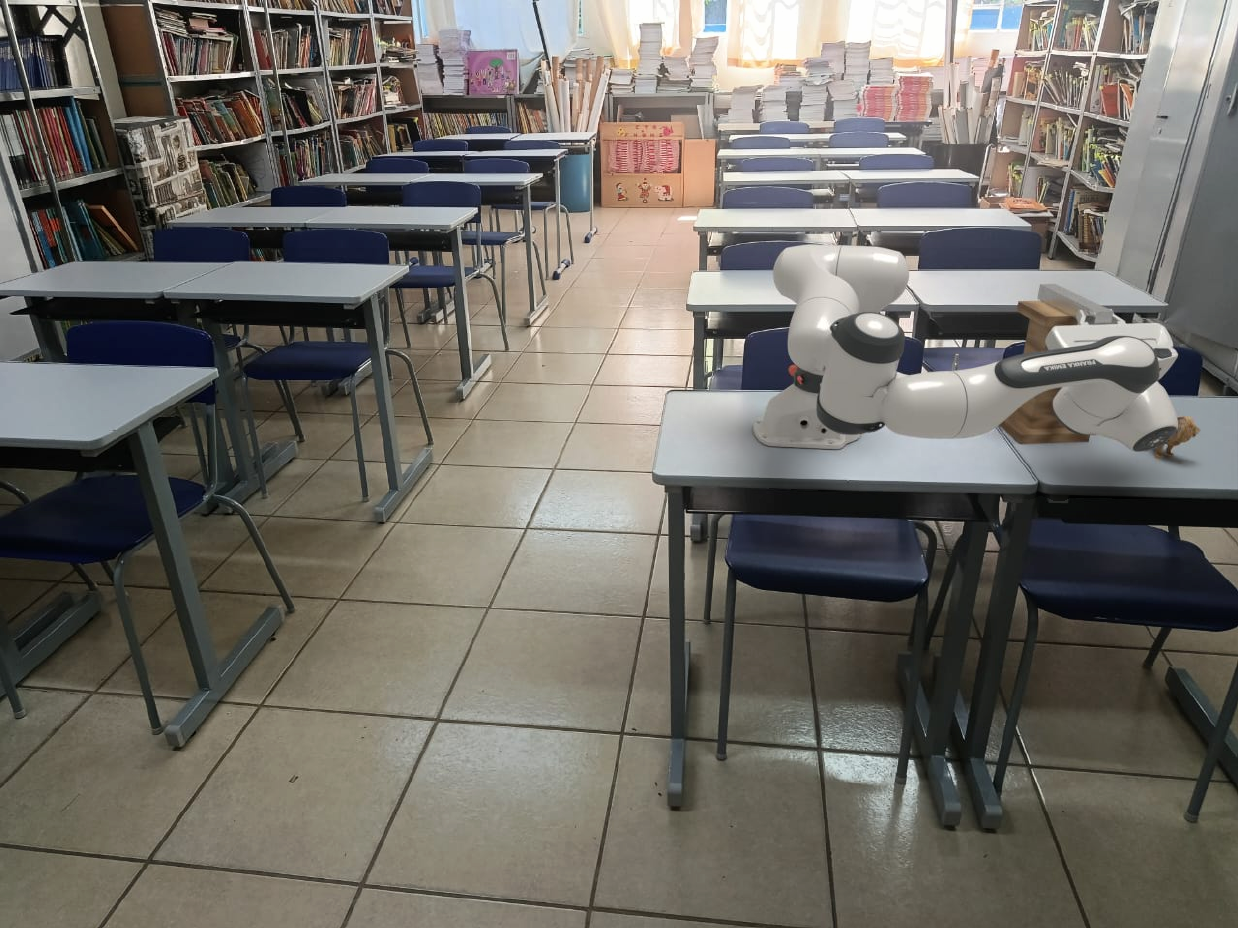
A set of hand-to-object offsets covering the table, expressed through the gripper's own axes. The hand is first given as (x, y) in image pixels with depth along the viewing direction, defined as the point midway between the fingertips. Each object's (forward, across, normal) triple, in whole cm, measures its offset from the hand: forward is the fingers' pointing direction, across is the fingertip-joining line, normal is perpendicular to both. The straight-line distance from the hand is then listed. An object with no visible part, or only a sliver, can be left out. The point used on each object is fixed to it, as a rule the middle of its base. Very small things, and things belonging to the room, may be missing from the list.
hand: (1093, 312), depth 152 cm
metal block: (+5, 0, -5) cm, 7 cm away
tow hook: (+9, -12, -38) cm, 41 cm away
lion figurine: (-15, +18, -24) cm, 34 cm away
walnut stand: (-5, 0, -30) cm, 30 cm away
